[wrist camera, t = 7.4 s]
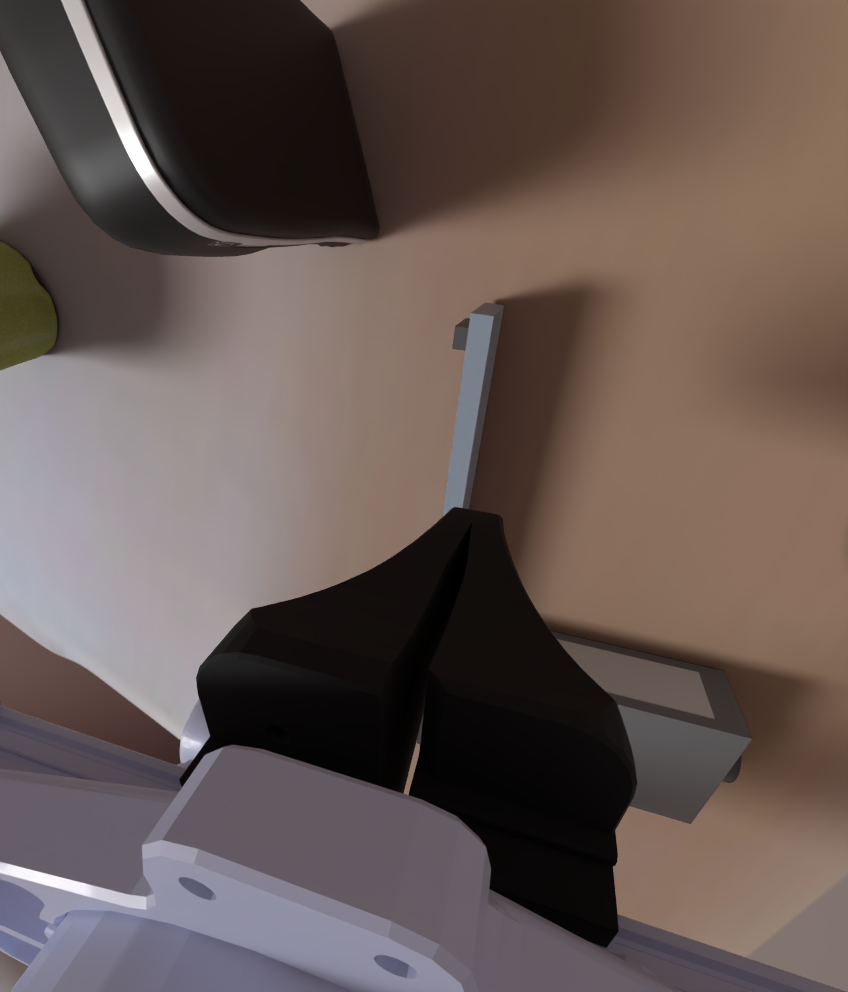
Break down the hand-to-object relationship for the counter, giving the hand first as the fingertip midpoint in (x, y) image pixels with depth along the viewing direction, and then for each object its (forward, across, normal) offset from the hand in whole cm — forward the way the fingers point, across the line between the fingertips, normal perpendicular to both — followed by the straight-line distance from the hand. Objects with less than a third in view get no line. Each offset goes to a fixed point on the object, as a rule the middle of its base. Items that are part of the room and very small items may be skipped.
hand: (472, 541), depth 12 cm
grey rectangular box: (+10, -6, +16) cm, 20 cm away
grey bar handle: (+10, +2, +3) cm, 11 cm away
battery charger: (+11, +9, -10) cm, 17 cm away
